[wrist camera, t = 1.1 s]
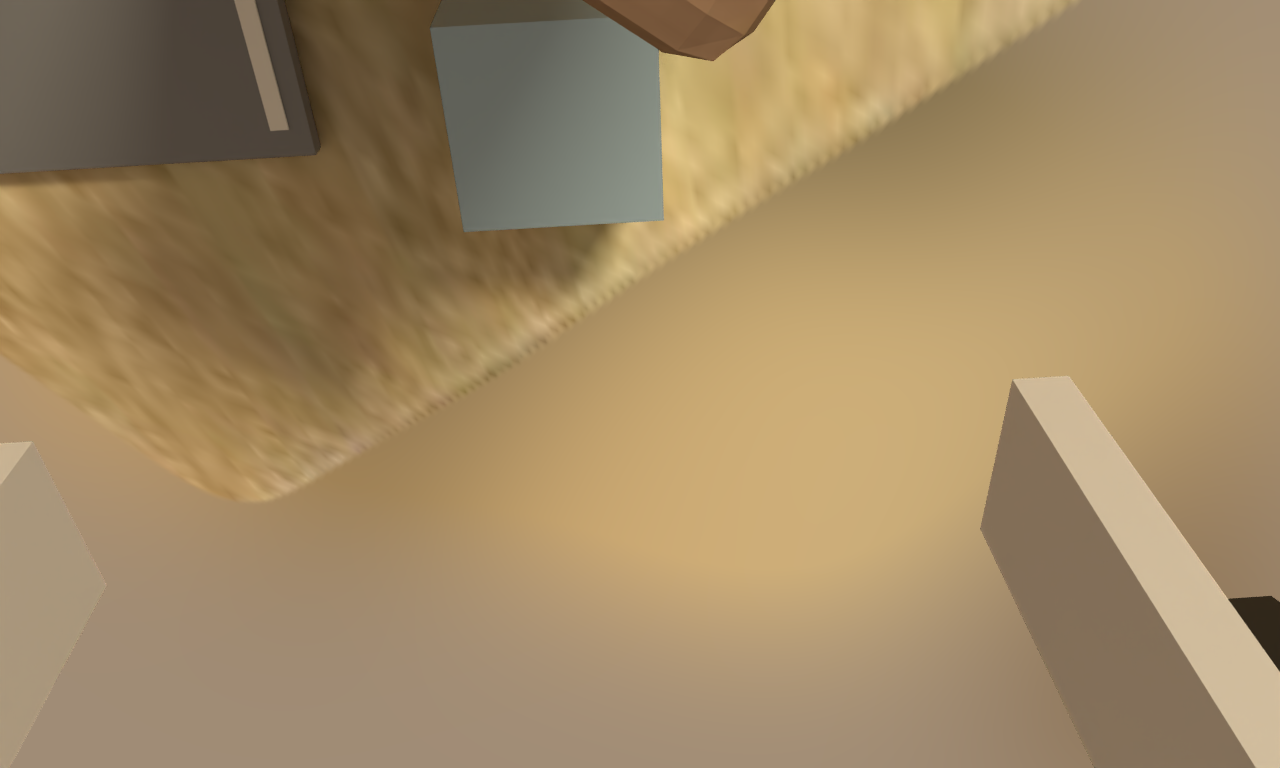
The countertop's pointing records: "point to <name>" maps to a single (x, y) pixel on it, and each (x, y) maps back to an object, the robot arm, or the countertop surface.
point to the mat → (149, 83)
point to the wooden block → (687, 23)
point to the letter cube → (548, 114)
